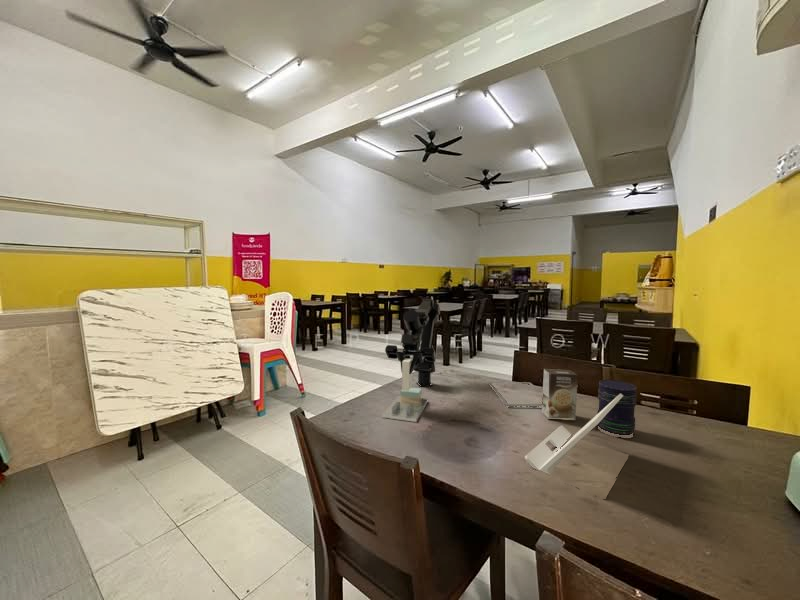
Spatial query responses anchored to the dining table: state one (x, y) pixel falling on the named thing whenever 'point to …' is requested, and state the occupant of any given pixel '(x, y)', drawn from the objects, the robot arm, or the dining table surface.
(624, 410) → the storage jar
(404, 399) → the block
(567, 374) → the cookie box
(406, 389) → the cream rectangular block
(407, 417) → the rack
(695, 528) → the dining table surface
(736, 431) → the dining table surface
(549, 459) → the tablet stand
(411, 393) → the offcut top
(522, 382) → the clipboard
